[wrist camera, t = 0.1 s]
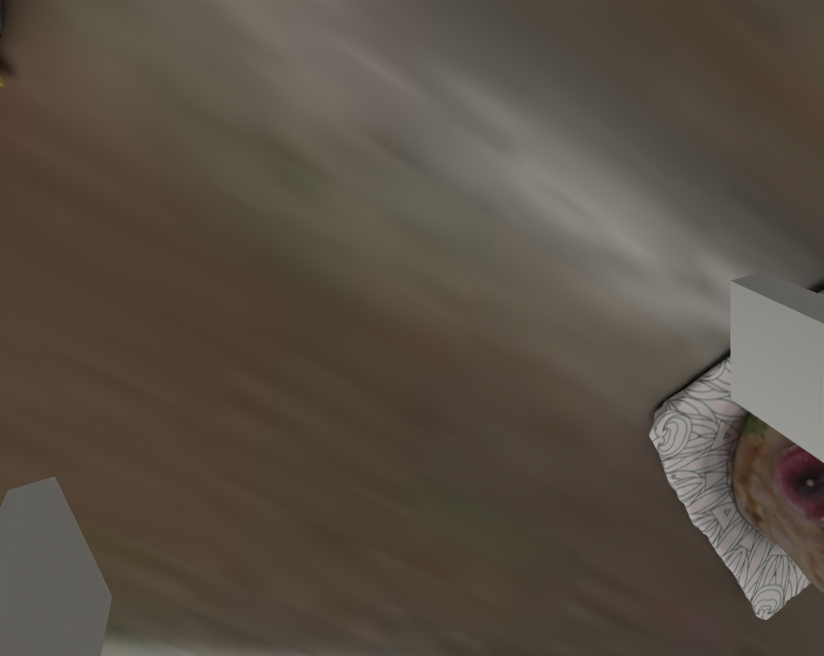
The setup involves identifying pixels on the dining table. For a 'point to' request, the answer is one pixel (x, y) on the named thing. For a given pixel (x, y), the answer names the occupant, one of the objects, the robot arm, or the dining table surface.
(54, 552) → the robot arm
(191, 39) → the dining table surface
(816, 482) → the cookie jar
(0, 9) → the mug
